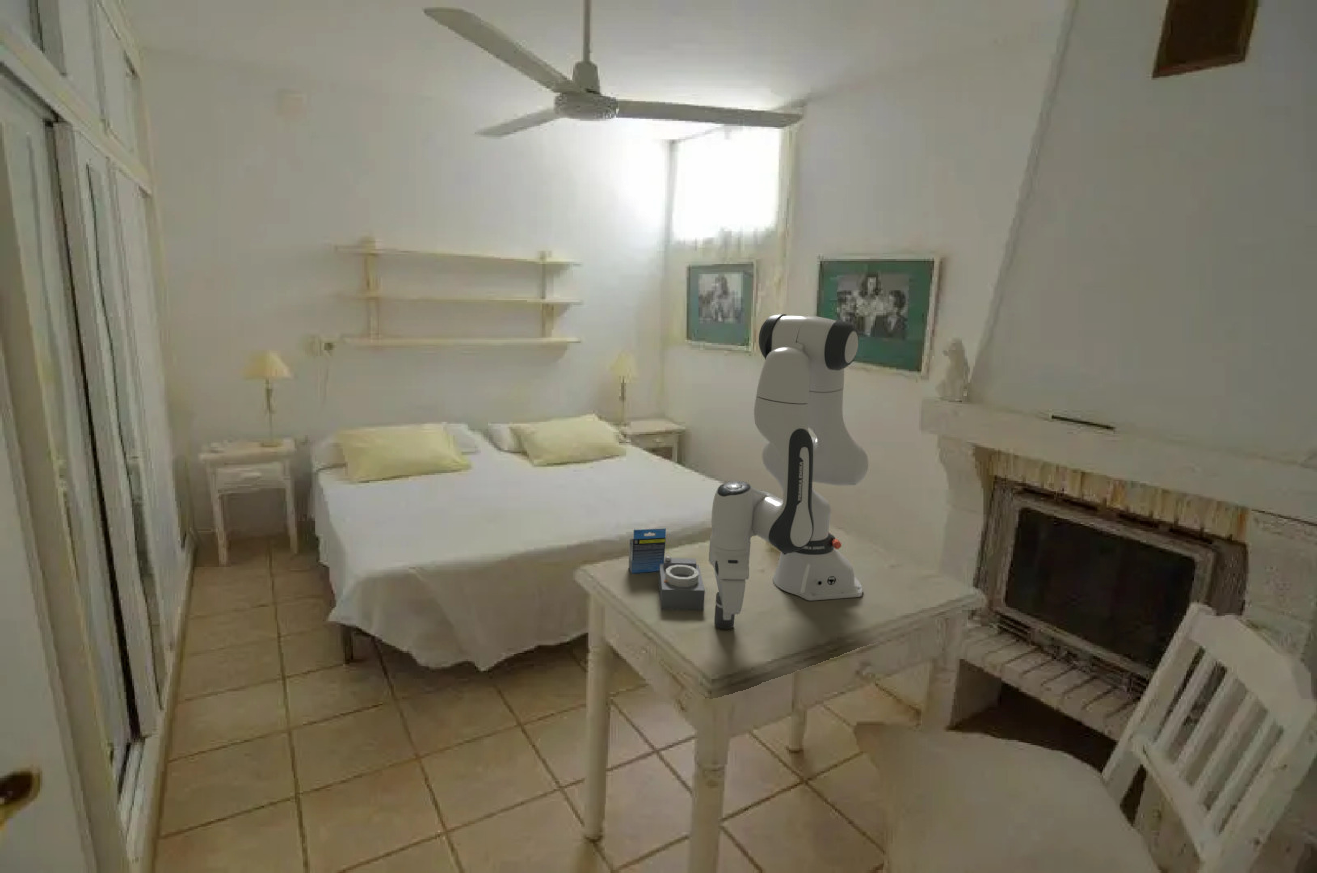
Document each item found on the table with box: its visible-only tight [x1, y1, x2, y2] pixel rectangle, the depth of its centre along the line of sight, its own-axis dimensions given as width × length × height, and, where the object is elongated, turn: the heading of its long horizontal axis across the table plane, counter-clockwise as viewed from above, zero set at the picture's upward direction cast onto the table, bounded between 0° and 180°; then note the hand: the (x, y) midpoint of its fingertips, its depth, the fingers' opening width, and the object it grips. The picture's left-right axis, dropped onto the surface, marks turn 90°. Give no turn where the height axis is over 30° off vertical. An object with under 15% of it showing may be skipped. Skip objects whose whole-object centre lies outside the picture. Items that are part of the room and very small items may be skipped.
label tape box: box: [628, 528, 667, 574], centre depth 174 cm, size 9×4×12 cm, turn 105°
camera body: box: [658, 555, 706, 611], centre depth 161 cm, size 10×14×8 cm
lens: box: [713, 591, 736, 630], centre depth 148 cm, size 4×4×7 cm
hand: (725, 611), depth 148 cm, fingers closed on lens, 4 cm apart
